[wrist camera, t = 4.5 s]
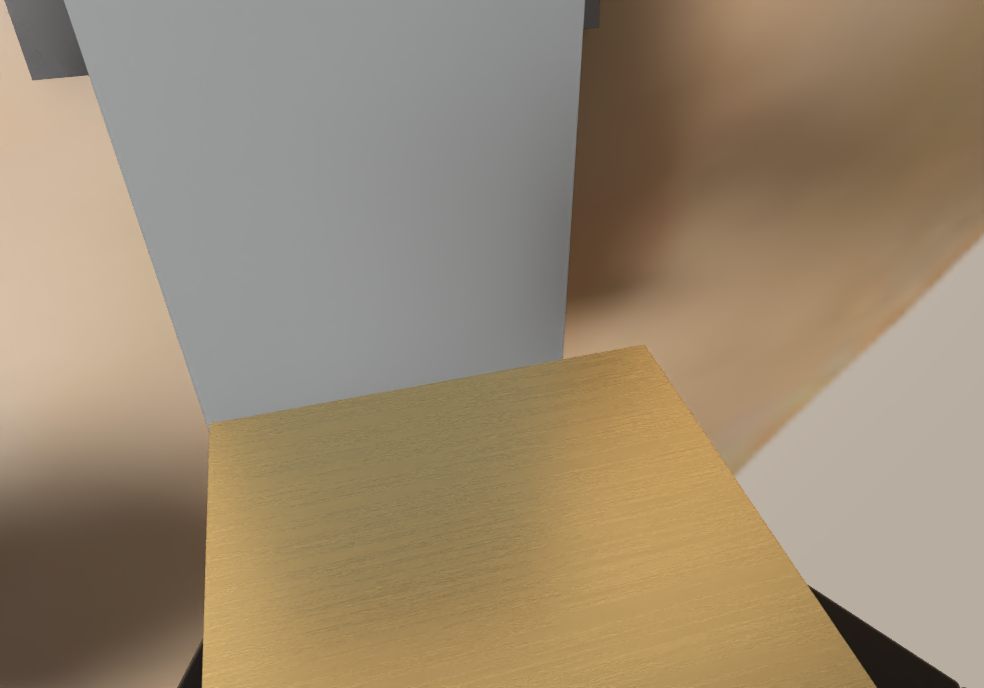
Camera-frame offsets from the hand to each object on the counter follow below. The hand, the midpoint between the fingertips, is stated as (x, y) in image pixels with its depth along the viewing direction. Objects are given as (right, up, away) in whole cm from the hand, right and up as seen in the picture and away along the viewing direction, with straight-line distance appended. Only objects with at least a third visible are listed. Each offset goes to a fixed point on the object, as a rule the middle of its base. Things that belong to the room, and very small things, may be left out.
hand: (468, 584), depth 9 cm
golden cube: (0, +1, +1) cm, 1 cm away
